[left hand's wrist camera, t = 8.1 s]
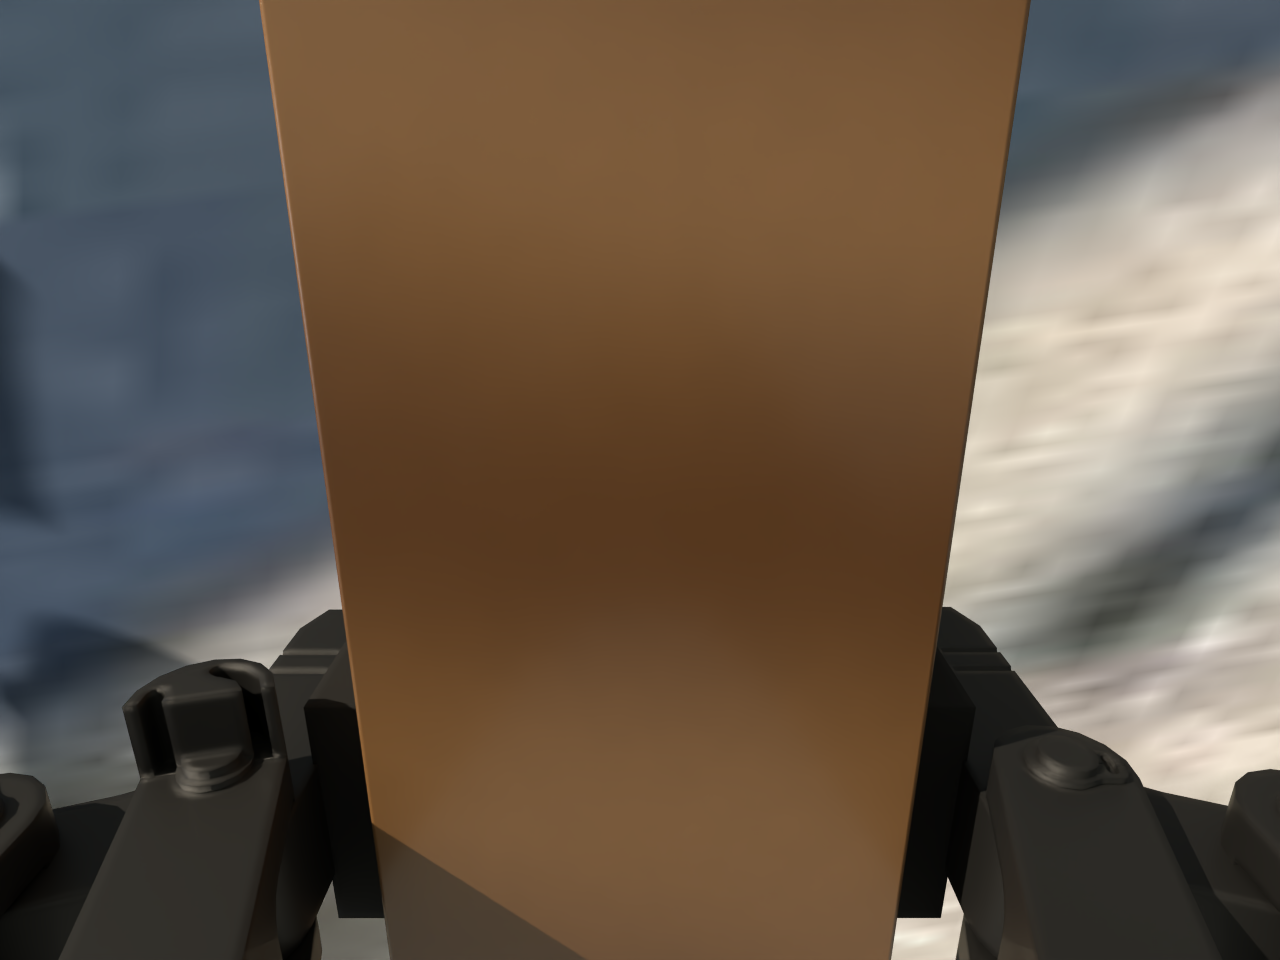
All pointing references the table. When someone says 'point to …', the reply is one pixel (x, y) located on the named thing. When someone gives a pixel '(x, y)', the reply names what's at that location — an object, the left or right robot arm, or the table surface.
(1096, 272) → the table surface
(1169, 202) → the table surface
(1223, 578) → the table surface
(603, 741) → the post
